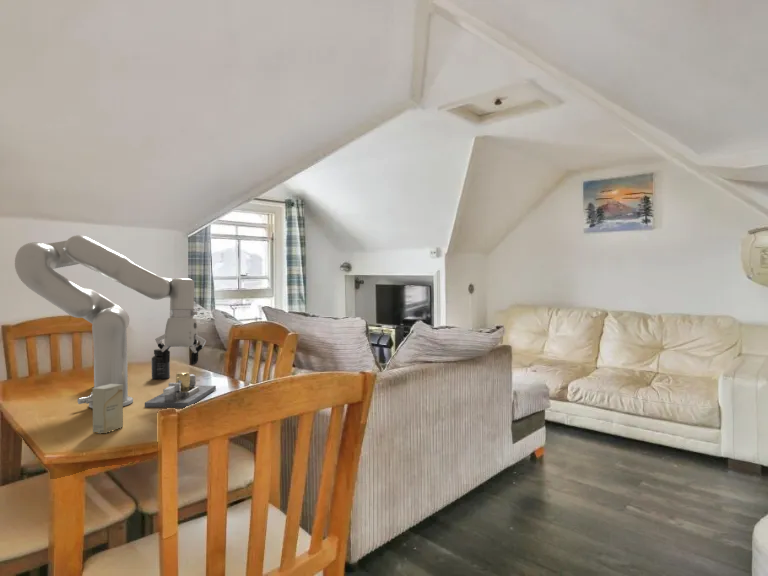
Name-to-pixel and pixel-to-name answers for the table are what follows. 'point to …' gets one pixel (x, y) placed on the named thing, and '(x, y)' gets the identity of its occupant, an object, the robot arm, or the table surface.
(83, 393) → the table surface
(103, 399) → the skincare box
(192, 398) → the shaft bench
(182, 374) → the universal joint block
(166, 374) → the supplement bottle
